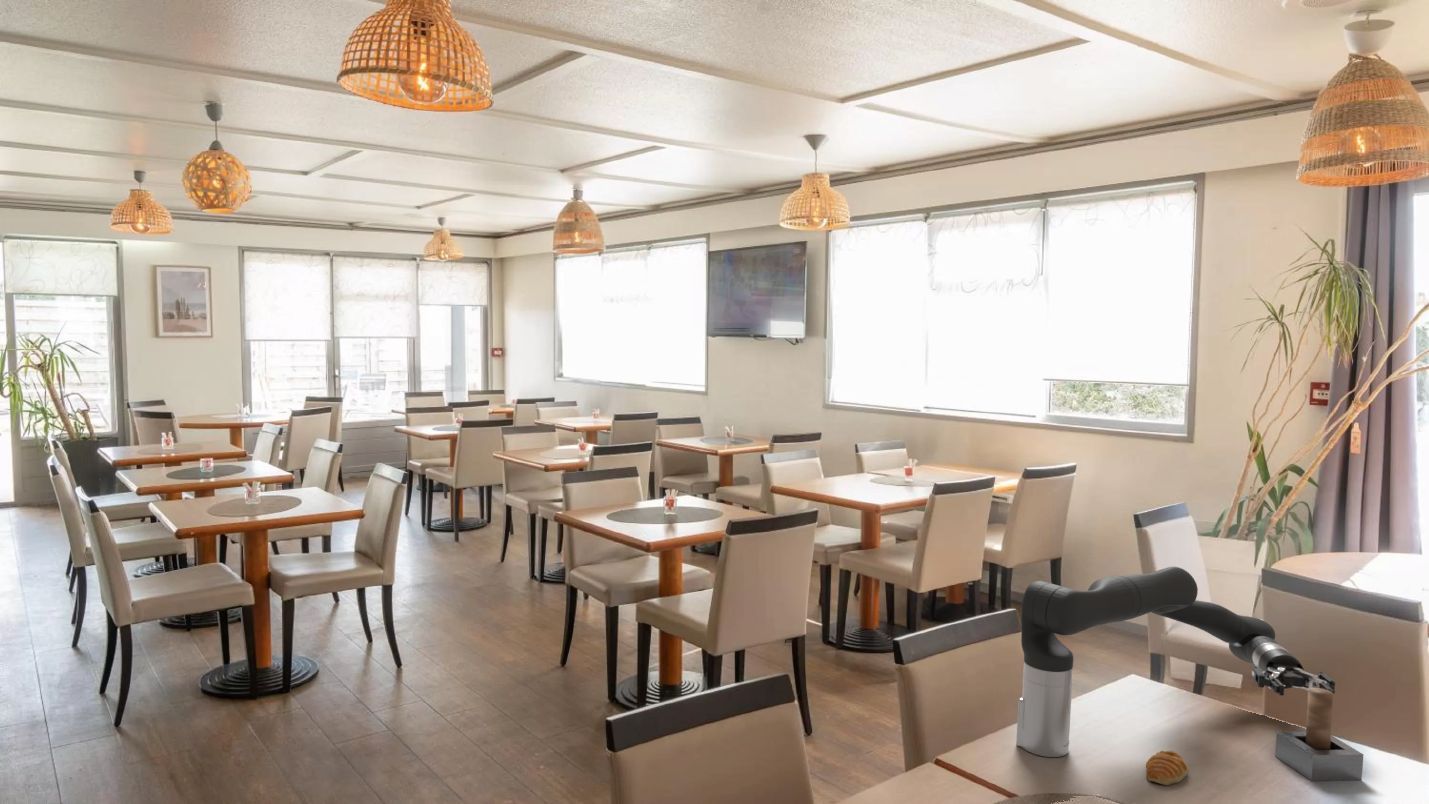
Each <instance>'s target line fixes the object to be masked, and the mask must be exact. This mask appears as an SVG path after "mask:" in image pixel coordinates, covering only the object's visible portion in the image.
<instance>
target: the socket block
mask: <svg viewBox="0 0 1429 804" xmlns="http://www.w3.org/2000/svg"><path fill="white" fill-rule="evenodd" d="M1275 737H1276V740H1275V741H1276V742H1275V752H1274V753H1275V754H1274V757H1276V758H1277V759H1279V760H1280V761H1281V762H1283V763H1284V764H1286V765H1287V766H1289V767H1290V768H1292V769H1293V770H1294V771H1296V772H1297V773H1299V774H1301V775H1302V776H1304V777H1305V778H1306V777H1307V778H1306V779H1308V780H1309V781H1311V782H1315V781H1317V782H1318V781H1322V782H1323V781H1324V782H1326V781H1329V782H1330V781H1331V782H1333V781H1362V778H1363V777H1362V776H1363V767H1364V766H1363V765H1364V753H1362V752H1361V751H1358V750H1357V749H1355V748H1353V747H1352V746H1350V745H1349V744H1347V743H1345V742H1343V741H1342V740H1341V739H1338V738H1336V737H1335V736H1334V735H1332V734H1331V743H1330V750H1315V749H1313V748H1311V747H1310V746H1308V745H1307V744H1306V731H1277V732H1276V736H1275Z"/></svg>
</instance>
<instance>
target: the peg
mask: <svg viewBox="0 0 1429 804" xmlns="http://www.w3.org/2000/svg"><path fill="white" fill-rule="evenodd" d="M1333 699H1334V694H1333V693H1332V692H1331V691H1329V690H1325V689H1321V688H1319V687H1317V688H1309V689H1308V691H1307V705H1306V709H1307V710H1306V727H1305V730H1306V731H1305V732H1306V744H1307V745H1308V746H1310V747H1311V748H1313V749H1315V750H1330V743H1331V735H1332V723H1333V721H1332V720H1333V719H1332V718H1333V703H1334V702H1333Z"/></svg>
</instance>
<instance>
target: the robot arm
mask: <svg viewBox="0 0 1429 804" xmlns="http://www.w3.org/2000/svg"><path fill="white" fill-rule="evenodd" d="M1198 592H1199V591H1198V585H1197V581H1196V580H1195V578H1194V577H1193V575H1191V574H1190V572H1188V571H1187V570H1185V569H1184V568H1181V567H1179V566H1168V567H1165V568H1162V569H1159V570H1158V569H1157V570H1156V571H1153V572H1149V573H1139V574H1137V573H1136V574H1123V575H1114V576H1108V577H1102V578H1100V579H1099V578H1098V579H1096V580H1095V581H1094V582H1092V584H1091V585H1090V586H1089V588H1088V589H1087V590H1076V589H1073V588H1069V587H1065V586H1062V585H1058V584H1054V583H1051V582H1048V581H1047V582H1046V581H1042V580H1036V581H1033V582H1031V583H1030V584H1029V585H1028V586H1027V587H1026V589H1025V591H1024V593H1023V597H1022V601H1021V606H1020V607H1021V608H1020V611H1021V613H1020V614H1021V615H1020V623H1021V626H1020V628H1021V630H1020V631H1021V634H1020V635H1021V636H1020V637H1021V639H1020V641H1021V648H1022V652H1023V671H1022V696H1021V697H1020V698H1019V699H1018V701H1017V703H1018V704H1017V705H1018V707H1017V719H1016V720H1017V723H1016V724H1017V725H1016V741H1015V742H1016V744H1015V745H1016V746H1018V747H1019V748H1020V747H1021V748H1022V749H1023V750H1025V751H1027V752H1029V753H1031V754H1033V755H1036V756H1040V757H1047V758H1059V757H1063V756H1066V755H1067V754H1068V753H1069V746H1070V731H1071V729H1070V728H1071V711H1072V695H1073V694H1072V691H1073V674H1074V673H1073V672H1074V654H1073V652H1072V651H1071V650H1070V649H1069V647H1067V646H1066V645H1065V644H1064V643H1062V642H1061V640H1060V639H1059V638H1058V637H1057V635H1060V636H1073V635H1075V634H1079V633H1081V632H1083V631H1085V630H1088V629H1091V628H1093V627H1096V626H1100V625H1101V626H1102V625H1106V624H1111V623H1118V622H1123V621H1129V620H1132V619H1133V620H1134V619H1135V618H1139V617H1142V616H1144V615H1147V614H1150V613H1152V614H1154V615H1157V616H1160V617H1164V618H1168V619H1171V620H1173V621H1177V622H1179V623H1183V624H1186V625H1189V626H1192V627H1194V628H1198V629H1199V630H1202V631H1203V632H1206V633H1208V634H1209V635H1211V636H1213V637H1215V638H1217V639H1218V640H1220V641H1222V642H1224V643H1227V644H1228V647H1229V651H1230V652H1231V654H1232V655H1234V656H1235V657H1236V658H1237V659H1239V660H1241V661H1243V662H1246V663H1247V664H1248V663H1249V664H1252V665H1253V666H1251V679H1252V680H1253V681H1254V683H1255V684H1256V685H1257V687H1259V688H1265V686H1266V687H1268V689H1270V690H1272V691H1273V692H1274V693H1275V694H1277V695H1278V696H1282V697H1283V696H1284V695H1285V690H1286V689H1287V690H1288V689H1292V688H1296V689H1302V690H1305V691H1307V692H1308V689H1309V688H1321V689H1325V690H1329V691H1331V692H1332V693H1333V695H1334V694H1336V680H1334V679H1333V678H1332V677H1330V676H1329V675H1328V674H1326V673H1325V672H1324V671H1317V674H1313V673H1311V672H1308V671H1307V670H1305V669H1304V666H1303V665H1302V664H1301V662H1300V660H1298V659H1297V658H1296V657H1295V656H1294V655H1293V654H1292V653H1291V652H1290V651H1288V650H1287V649H1286V648H1285V647H1283V646H1281V645H1280V644H1279V643H1278V642H1277V641H1276V640H1275V639H1276V632H1275V629H1274V628H1273V627H1272V626H1271V625H1270V624H1269V623H1268V622H1267V621H1265V620H1262V619H1260V618H1257V617H1254V616H1248V615H1240V614H1237V613H1235V612H1233V611H1231V610H1230V609H1228V608H1226V607H1224V606H1223V605H1221V604H1216V603H1214V602H1213V603H1212V602H1210V601H1209V602H1208V601H1203V600H1197V597H1198Z"/></svg>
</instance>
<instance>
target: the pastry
mask: <svg viewBox="0 0 1429 804" xmlns="http://www.w3.org/2000/svg"><path fill="white" fill-rule="evenodd" d="M1189 771H1190V768H1189V767H1188V766H1187V763H1186V762H1185V760H1184V758H1183V757H1182V756H1181V755H1180V754H1179V753H1177V752H1175V751H1172V750H1166V751H1165V750H1160V751H1159V752H1156V753H1155V754H1153V755H1151V757H1149V758H1148V760H1147V761H1146V763H1145V776H1146V778H1147V779H1148V781H1149V782H1155V783H1158V784H1160V785H1164V786H1169V785H1172V784H1179V783H1180V781H1182V780H1183V779H1185V777H1186V776H1187V775H1188V773H1189Z"/></svg>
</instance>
